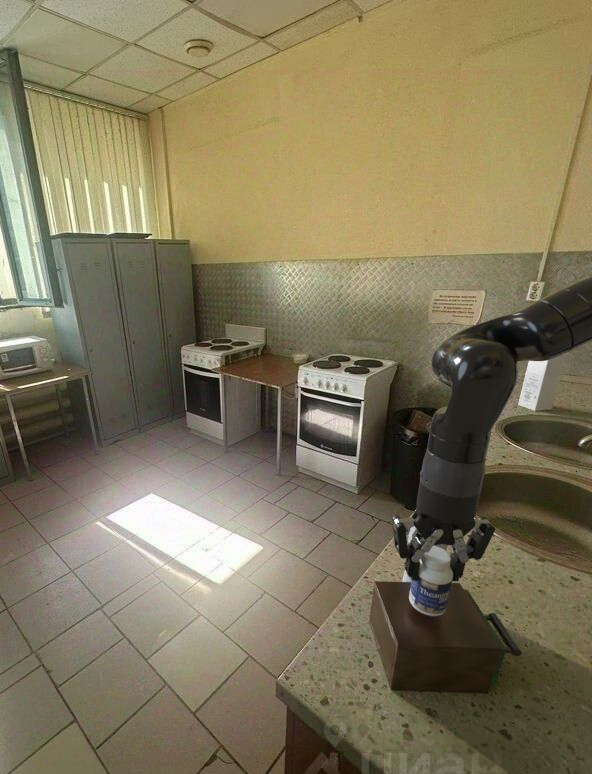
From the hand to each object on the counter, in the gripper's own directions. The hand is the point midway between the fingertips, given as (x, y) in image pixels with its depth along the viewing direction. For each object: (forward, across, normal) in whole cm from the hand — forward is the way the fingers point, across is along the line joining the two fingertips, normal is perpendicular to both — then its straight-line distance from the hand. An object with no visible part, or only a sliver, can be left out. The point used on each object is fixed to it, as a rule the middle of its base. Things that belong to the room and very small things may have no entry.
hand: (432, 576), depth 61 cm
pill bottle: (+6, 0, 0) cm, 6 cm away
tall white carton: (+17, +97, +124) cm, 158 cm away
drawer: (+16, +5, 0) cm, 16 cm away
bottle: (+17, +5, +13) cm, 22 cm away
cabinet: (+17, +1, 0) cm, 17 cm away
